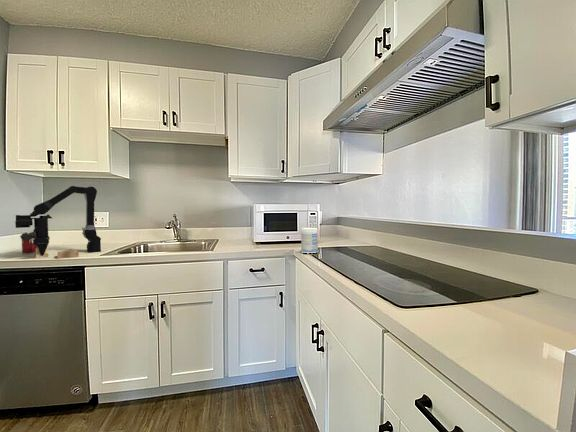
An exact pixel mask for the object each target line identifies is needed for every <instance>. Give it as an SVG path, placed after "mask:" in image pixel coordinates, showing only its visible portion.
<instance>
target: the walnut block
mask: <svg viewBox="0 0 576 432" xmlns="http://www.w3.org/2000/svg"><path fill="white" fill-rule="evenodd" d="M79 257H80V254H79V250H64V251H57V260H60V259H69V258H79Z"/></svg>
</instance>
